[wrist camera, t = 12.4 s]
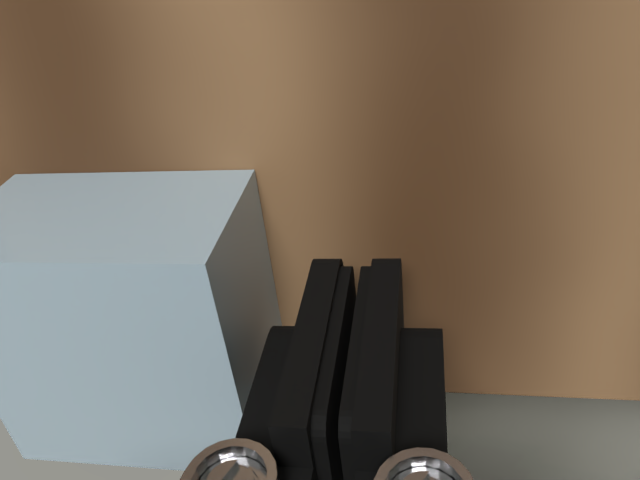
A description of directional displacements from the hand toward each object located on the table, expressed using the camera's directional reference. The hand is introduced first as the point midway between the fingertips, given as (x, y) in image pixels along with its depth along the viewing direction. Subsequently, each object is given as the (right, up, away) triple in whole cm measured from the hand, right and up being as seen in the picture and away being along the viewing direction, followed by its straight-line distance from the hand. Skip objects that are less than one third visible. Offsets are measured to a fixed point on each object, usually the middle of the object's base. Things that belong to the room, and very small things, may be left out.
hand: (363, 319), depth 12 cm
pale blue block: (-4, +1, +1) cm, 5 cm away
